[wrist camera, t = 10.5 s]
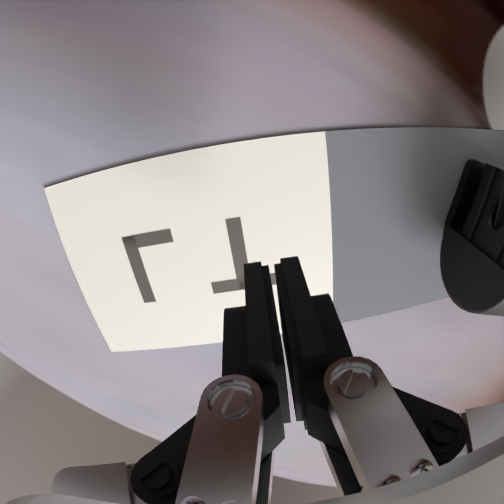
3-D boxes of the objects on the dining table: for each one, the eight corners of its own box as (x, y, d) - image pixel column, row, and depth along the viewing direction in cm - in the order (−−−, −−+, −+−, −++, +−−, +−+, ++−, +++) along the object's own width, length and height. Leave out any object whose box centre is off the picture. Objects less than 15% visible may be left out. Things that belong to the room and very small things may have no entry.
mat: (324, 131, 13) (325, 131, 13) (537, 134, 13) (538, 134, 13) (332, 323, 18) (332, 324, 18) (516, 275, 18) (516, 275, 18)
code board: (44, 187, 14) (43, 188, 13) (324, 131, 13) (325, 131, 13) (111, 350, 19) (111, 352, 18) (332, 323, 18) (332, 324, 18)
